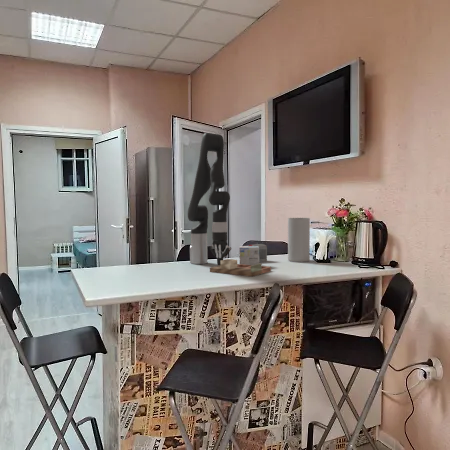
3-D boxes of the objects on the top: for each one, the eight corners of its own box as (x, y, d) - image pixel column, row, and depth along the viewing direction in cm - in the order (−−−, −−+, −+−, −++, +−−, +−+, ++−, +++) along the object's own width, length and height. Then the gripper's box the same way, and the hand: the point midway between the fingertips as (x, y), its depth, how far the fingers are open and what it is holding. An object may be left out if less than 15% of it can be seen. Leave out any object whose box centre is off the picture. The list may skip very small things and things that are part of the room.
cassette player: (242, 263, 229) (242, 245, 228) (240, 262, 231) (240, 245, 230) (266, 261, 235) (266, 244, 234) (264, 260, 237) (264, 243, 236)
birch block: (220, 268, 198) (220, 260, 198) (227, 266, 203) (227, 258, 202) (230, 269, 194) (230, 261, 194) (237, 267, 199) (237, 259, 199)
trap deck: (209, 271, 200) (209, 261, 200) (229, 266, 215) (229, 257, 214) (252, 276, 186) (252, 265, 186) (270, 270, 201) (270, 261, 200)
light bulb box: (259, 265, 220) (259, 245, 219) (259, 267, 213) (259, 247, 213) (240, 265, 221) (239, 245, 220) (239, 267, 214) (239, 247, 214)
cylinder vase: (313, 260, 235) (313, 218, 233) (302, 263, 225) (302, 218, 224) (295, 258, 243) (295, 217, 241) (283, 261, 233) (283, 218, 232)
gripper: (204, 231, 201) (205, 265, 202) (226, 232, 193) (226, 267, 194) (213, 230, 207) (214, 263, 208) (234, 230, 199) (235, 265, 201)
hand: (220, 265), depth 201 cm, fingers closed
